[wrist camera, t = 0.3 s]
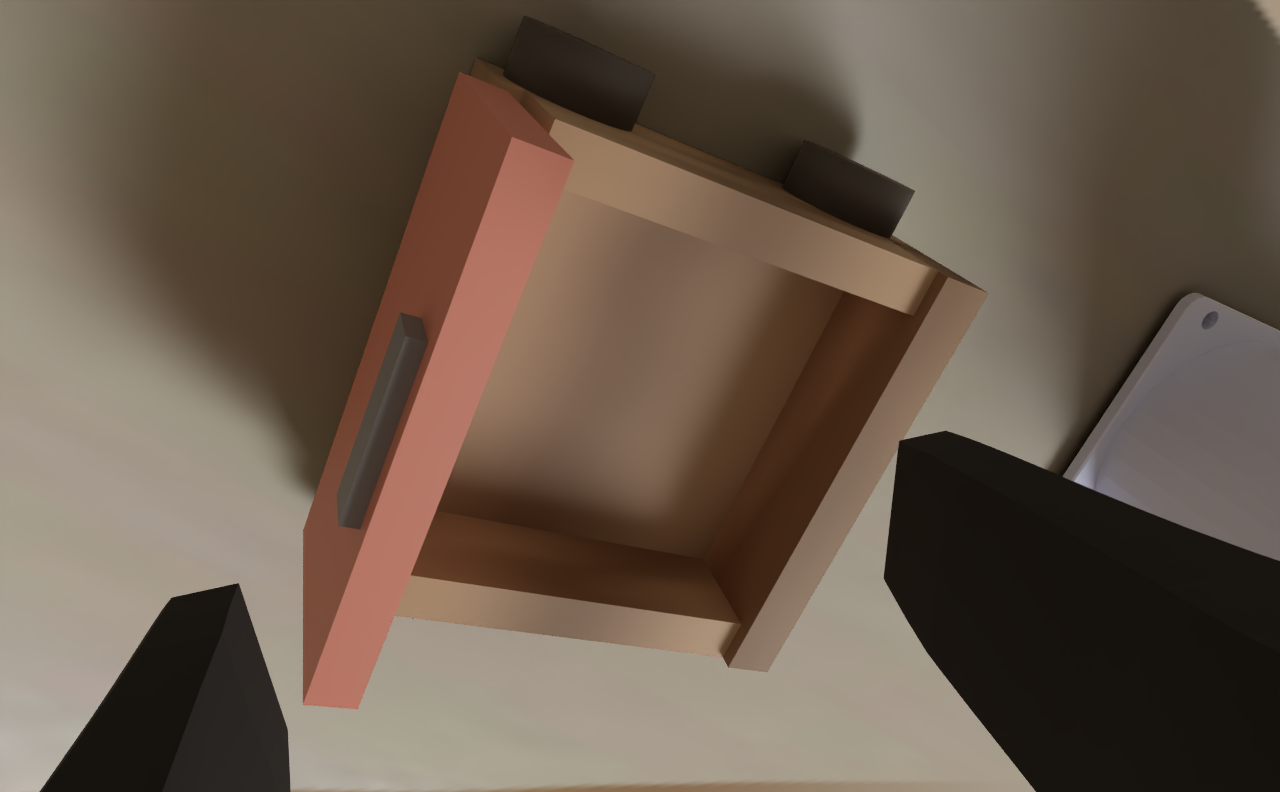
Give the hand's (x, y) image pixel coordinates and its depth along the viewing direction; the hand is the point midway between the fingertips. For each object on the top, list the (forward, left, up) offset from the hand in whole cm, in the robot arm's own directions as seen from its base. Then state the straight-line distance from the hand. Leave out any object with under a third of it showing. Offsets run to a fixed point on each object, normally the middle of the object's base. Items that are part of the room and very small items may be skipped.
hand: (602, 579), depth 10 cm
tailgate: (+2, +1, -8) cm, 8 cm away
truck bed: (-3, +1, -10) cm, 10 cm away
